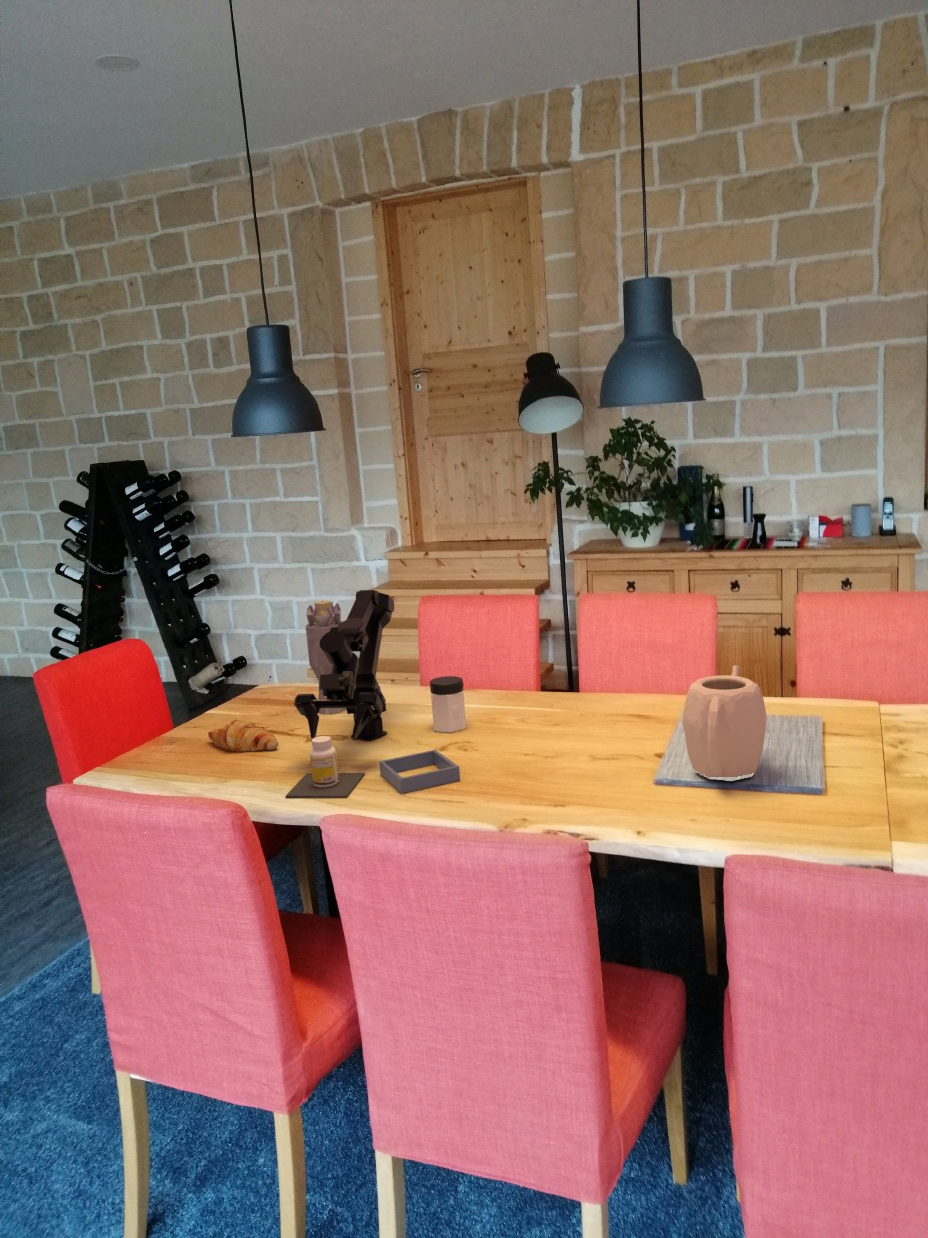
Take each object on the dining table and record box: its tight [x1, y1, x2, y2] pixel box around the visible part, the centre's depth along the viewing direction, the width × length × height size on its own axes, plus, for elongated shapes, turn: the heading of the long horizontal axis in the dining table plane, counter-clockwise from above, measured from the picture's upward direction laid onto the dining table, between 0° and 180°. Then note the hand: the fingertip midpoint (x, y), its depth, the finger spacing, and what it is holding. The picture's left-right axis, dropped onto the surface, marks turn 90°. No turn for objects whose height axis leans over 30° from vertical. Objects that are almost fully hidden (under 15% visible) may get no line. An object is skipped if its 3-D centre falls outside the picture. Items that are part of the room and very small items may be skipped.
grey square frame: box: [378, 749, 461, 795], centre depth 195 cm, size 13×13×3 cm
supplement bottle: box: [309, 735, 339, 788], centre depth 194 cm, size 5×5×10 cm
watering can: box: [682, 665, 767, 777], centre depth 185 cm, size 16×27×19 cm, turn 154°
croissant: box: [207, 719, 279, 753], centre depth 225 cm, size 21×10×8 cm, turn 64°
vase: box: [305, 600, 347, 715], centre depth 249 cm, size 10×10×30 cm
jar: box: [429, 675, 467, 734], centre depth 227 cm, size 9×8×12 cm
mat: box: [285, 772, 366, 799], centre depth 194 cm, size 13×13×1 cm
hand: (333, 739), depth 200 cm, fingers open, 9 cm apart
